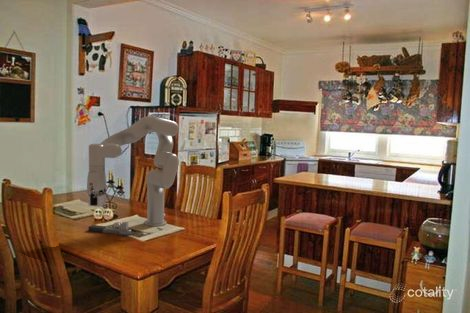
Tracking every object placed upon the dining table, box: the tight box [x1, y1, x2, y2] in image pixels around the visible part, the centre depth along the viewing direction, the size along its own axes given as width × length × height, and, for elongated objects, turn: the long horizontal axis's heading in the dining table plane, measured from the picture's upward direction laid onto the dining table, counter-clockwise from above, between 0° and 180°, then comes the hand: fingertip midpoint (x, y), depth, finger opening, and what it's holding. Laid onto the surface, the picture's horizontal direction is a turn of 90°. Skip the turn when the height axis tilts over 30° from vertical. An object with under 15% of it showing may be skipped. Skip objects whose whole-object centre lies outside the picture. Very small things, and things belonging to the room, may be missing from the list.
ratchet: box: [87, 221, 133, 237], centre depth 199 cm, size 6×24×6 cm, turn 77°
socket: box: [87, 191, 107, 208], centre depth 191 cm, size 6×6×6 cm
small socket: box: [113, 221, 122, 229], centre depth 205 cm, size 4×4×4 cm
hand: (97, 203), depth 191 cm, fingers closed on socket, 6 cm apart
